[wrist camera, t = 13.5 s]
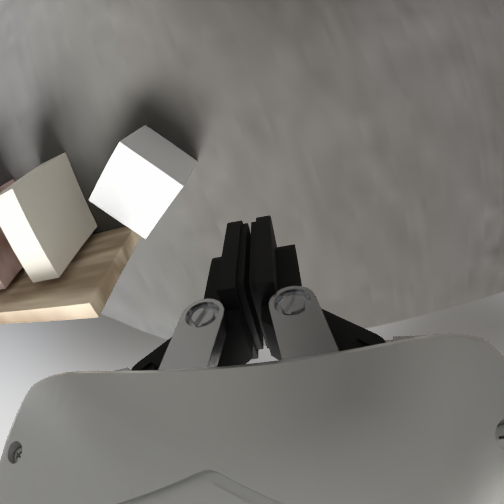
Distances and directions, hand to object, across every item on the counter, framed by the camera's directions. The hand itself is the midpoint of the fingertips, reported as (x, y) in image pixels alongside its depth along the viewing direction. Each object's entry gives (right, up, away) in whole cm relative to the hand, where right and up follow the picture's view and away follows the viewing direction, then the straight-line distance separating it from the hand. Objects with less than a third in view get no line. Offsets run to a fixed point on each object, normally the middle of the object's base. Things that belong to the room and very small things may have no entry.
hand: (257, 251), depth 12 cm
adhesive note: (-9, +8, +15) cm, 20 cm away
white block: (-20, +6, +17) cm, 27 cm away
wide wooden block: (-24, +5, +17) cm, 29 cm away
